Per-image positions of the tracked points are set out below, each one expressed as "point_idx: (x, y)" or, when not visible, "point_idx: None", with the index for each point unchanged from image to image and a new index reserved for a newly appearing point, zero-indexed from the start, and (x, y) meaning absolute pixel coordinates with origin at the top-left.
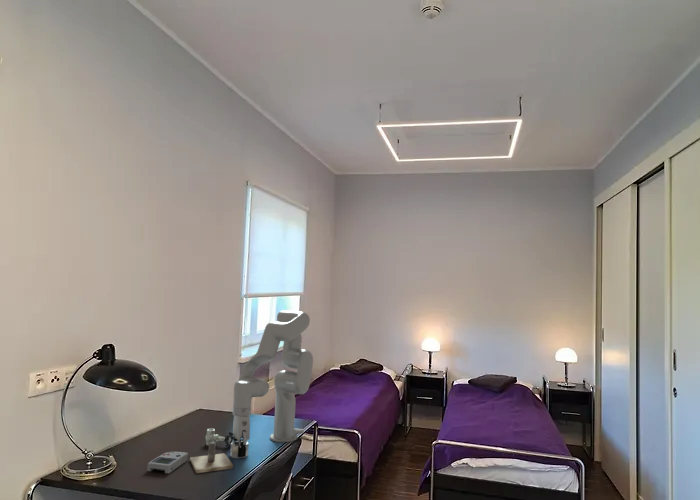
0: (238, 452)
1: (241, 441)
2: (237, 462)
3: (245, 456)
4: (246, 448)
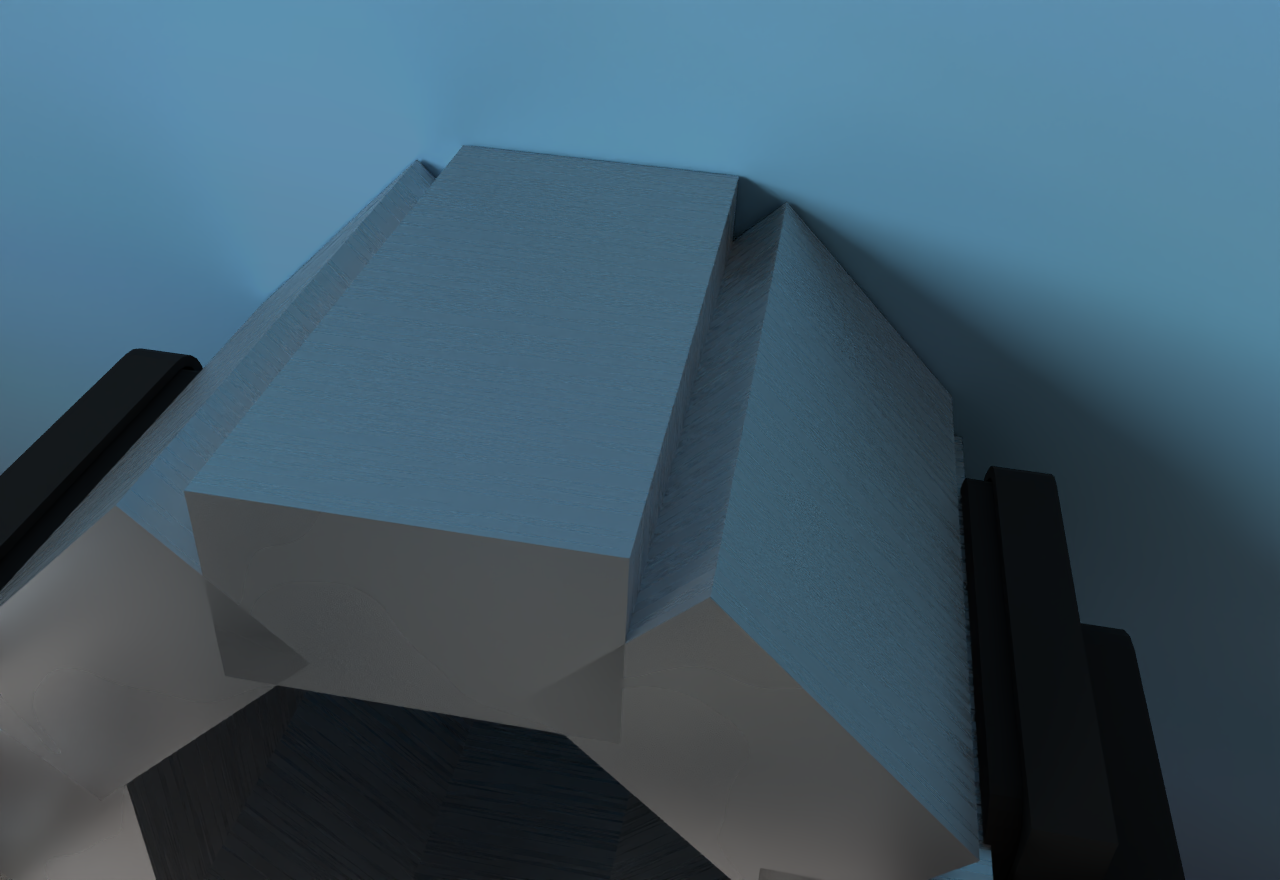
0: None
1: (151, 753)
2: (1272, 783)
3: (933, 390)
4: (894, 589)
